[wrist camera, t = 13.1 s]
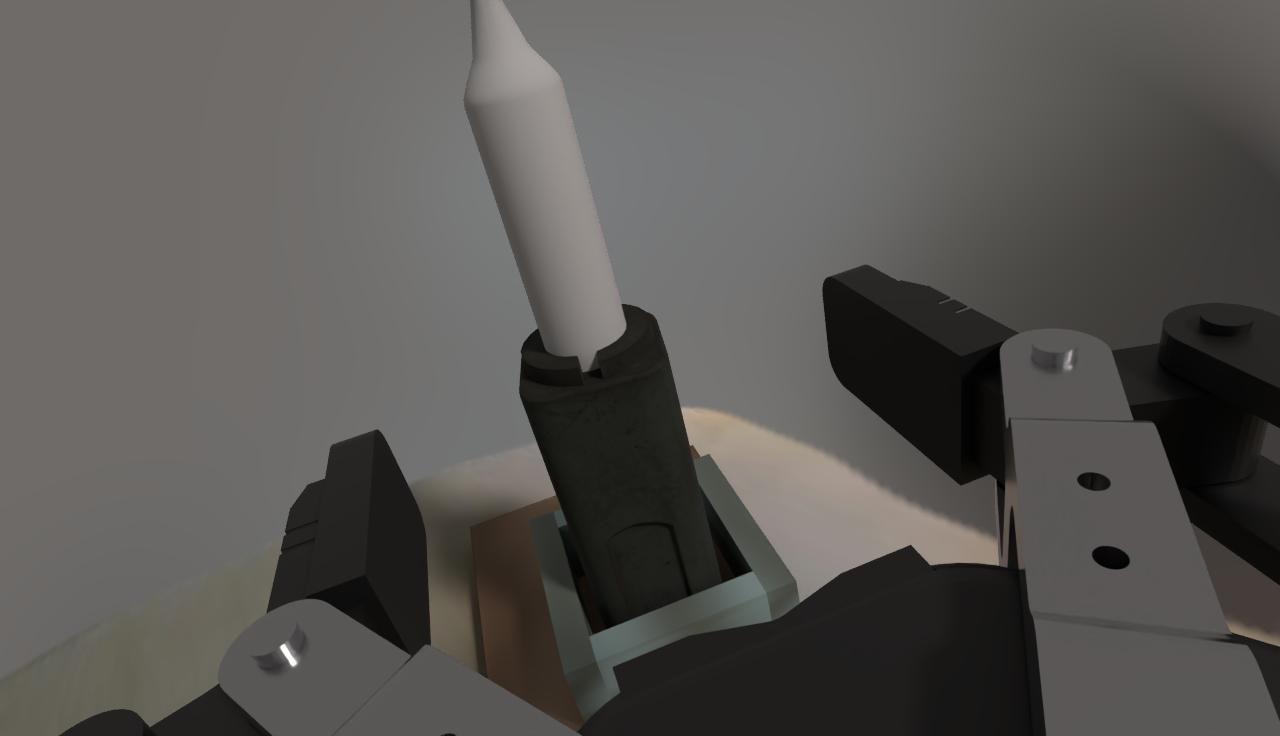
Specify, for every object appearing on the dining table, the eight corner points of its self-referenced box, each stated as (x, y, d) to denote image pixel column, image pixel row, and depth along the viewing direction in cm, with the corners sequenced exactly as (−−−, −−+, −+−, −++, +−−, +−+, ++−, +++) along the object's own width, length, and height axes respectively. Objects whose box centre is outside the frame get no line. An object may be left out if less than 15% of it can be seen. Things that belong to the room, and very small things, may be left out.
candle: (711, 548, 33) (562, -63, 21) (736, 635, 29) (566, -75, 17) (604, 575, 34) (397, -20, 21) (613, 667, 29) (357, -20, 17)
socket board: (519, 883, 24) (475, 809, 22) (477, 543, 40) (449, 481, 37) (868, 728, 26) (859, 646, 24) (696, 461, 41) (681, 398, 39)
